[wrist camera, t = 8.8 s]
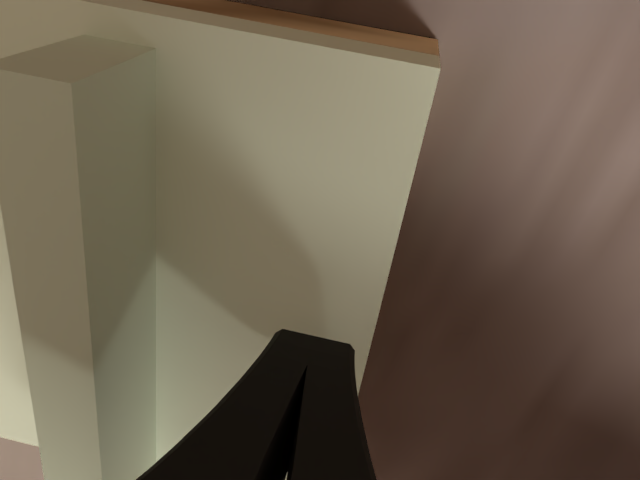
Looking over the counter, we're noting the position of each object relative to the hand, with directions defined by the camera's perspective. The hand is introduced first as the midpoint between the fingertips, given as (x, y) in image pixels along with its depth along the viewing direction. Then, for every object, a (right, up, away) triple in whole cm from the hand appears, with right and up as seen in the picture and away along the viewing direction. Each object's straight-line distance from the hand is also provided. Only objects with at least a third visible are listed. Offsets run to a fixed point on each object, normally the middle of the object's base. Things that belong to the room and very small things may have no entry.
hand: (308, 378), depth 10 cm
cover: (-5, +2, +2) cm, 6 cm away
